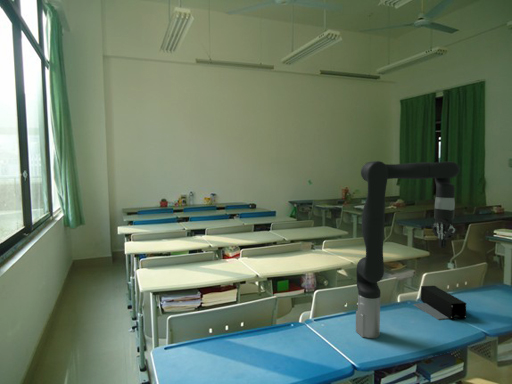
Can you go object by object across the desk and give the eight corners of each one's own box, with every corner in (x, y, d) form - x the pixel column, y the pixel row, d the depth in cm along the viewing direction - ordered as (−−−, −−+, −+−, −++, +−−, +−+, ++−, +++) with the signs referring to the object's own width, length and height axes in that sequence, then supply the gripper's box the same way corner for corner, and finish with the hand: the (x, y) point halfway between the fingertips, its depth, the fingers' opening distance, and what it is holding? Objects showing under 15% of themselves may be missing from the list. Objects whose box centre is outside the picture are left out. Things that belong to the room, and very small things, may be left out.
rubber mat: (438, 319, 164) (438, 318, 164) (413, 305, 183) (413, 304, 182) (460, 317, 167) (460, 316, 167) (433, 303, 185) (433, 302, 185)
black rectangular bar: (466, 303, 164) (431, 283, 192) (451, 303, 163) (417, 284, 191) (466, 319, 164) (430, 297, 192) (450, 319, 164) (417, 297, 191)
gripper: (426, 206, 154) (424, 244, 155) (448, 209, 141) (446, 251, 142) (440, 206, 156) (438, 244, 157) (464, 209, 143) (461, 250, 144)
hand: (442, 247), depth 149 cm, fingers closed
